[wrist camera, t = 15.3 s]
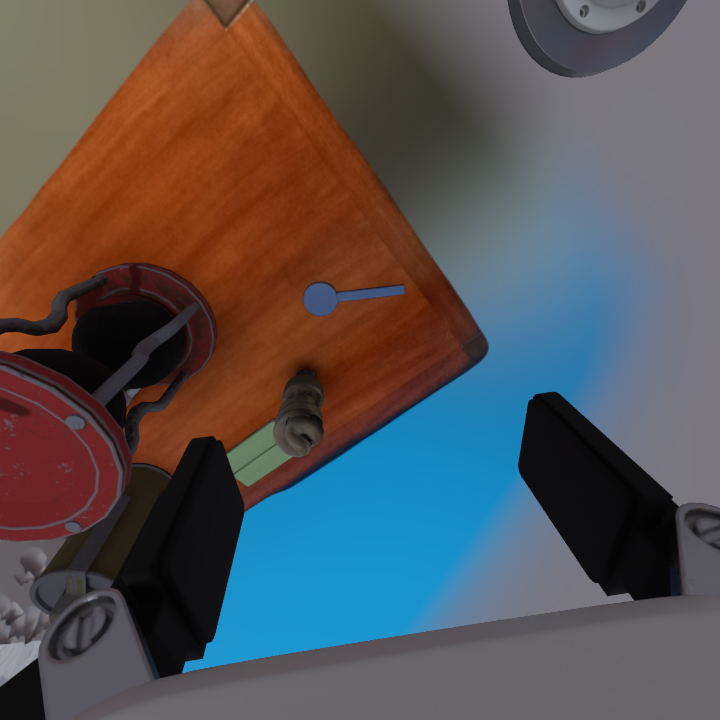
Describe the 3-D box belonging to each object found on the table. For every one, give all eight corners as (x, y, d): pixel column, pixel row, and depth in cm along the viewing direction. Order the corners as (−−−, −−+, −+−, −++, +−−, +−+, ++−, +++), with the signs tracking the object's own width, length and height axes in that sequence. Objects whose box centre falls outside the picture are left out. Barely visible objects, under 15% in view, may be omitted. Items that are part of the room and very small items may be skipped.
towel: (273, 417, 53) (272, 423, 52) (304, 444, 56) (303, 450, 55) (218, 457, 56) (216, 464, 55) (250, 481, 59) (248, 487, 57)
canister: (175, 512, 60) (114, 649, 43) (109, 504, 58) (15, 645, 40) (181, 466, 56) (114, 598, 38) (109, 455, 54) (4, 590, 36)
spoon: (403, 272, 45) (404, 273, 44) (404, 304, 47) (405, 306, 46) (300, 283, 44) (300, 285, 44) (306, 316, 46) (306, 318, 46)
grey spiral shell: (308, 397, 52) (302, 471, 39) (277, 377, 50) (260, 448, 37) (331, 371, 51) (334, 439, 37) (300, 350, 49) (291, 413, 35)
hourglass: (163, 238, 40) (-31, 307, 18) (241, 349, 48) (171, 495, 26) (51, 298, 42) (-247, 426, 20) (143, 396, 50) (-1, 570, 27)
